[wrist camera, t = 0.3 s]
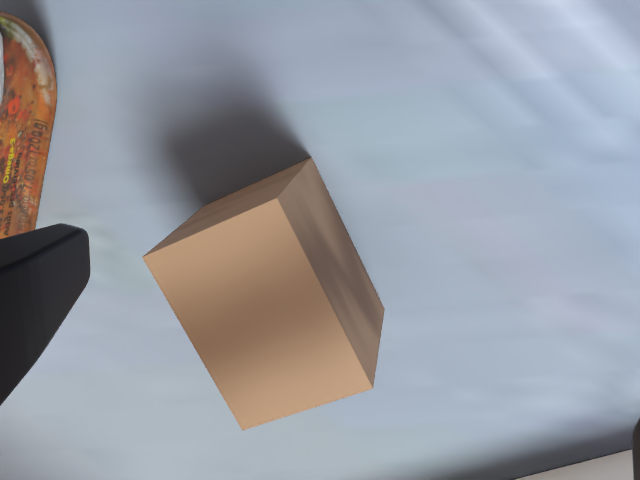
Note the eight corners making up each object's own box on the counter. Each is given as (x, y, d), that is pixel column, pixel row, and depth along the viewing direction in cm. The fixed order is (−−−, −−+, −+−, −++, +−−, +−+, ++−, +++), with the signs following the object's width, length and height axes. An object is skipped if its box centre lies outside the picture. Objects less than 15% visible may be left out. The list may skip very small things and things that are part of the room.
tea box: (384, 308, 25) (372, 388, 20) (277, 346, 27) (238, 431, 21) (311, 156, 24) (276, 197, 18) (202, 206, 25) (138, 258, 20)
